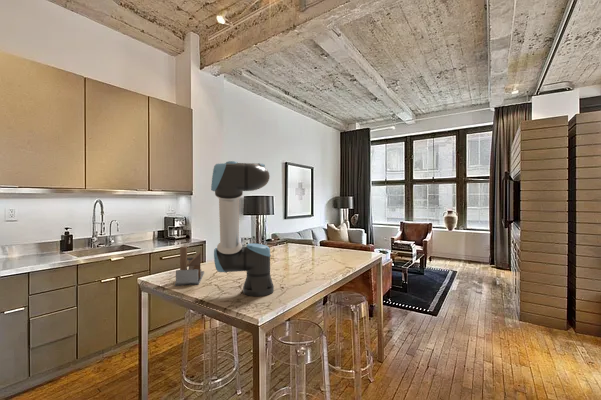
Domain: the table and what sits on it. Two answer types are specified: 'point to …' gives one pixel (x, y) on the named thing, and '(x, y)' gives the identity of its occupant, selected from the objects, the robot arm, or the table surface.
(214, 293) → the table surface
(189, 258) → the ram
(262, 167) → the robot arm
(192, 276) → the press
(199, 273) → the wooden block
